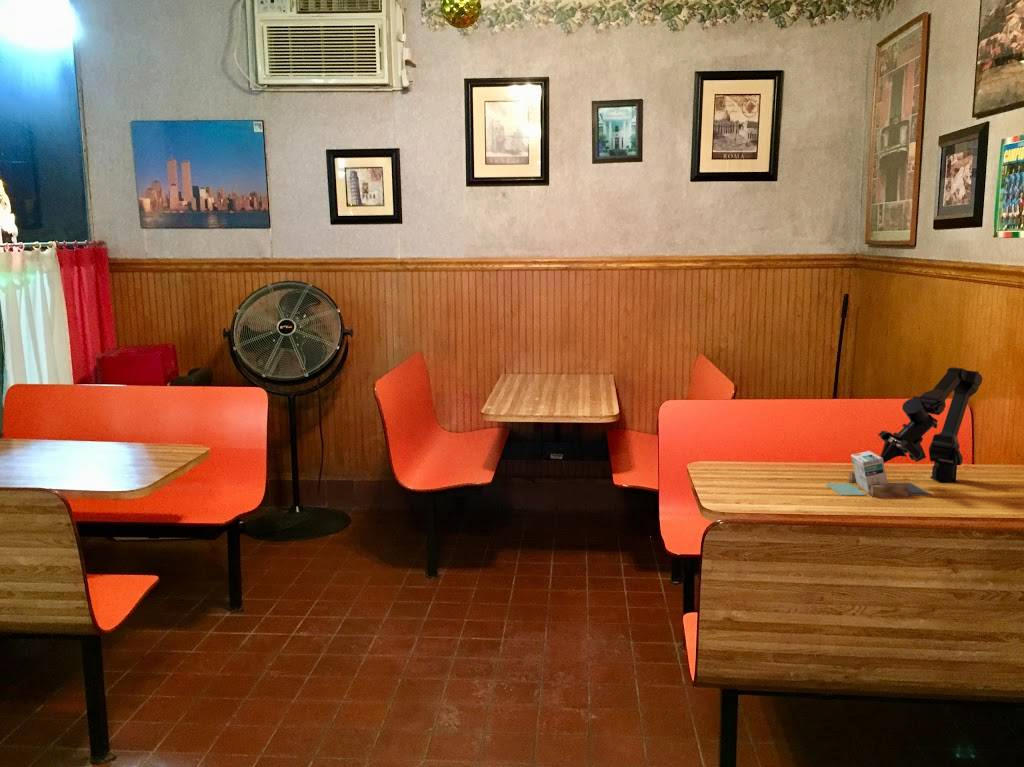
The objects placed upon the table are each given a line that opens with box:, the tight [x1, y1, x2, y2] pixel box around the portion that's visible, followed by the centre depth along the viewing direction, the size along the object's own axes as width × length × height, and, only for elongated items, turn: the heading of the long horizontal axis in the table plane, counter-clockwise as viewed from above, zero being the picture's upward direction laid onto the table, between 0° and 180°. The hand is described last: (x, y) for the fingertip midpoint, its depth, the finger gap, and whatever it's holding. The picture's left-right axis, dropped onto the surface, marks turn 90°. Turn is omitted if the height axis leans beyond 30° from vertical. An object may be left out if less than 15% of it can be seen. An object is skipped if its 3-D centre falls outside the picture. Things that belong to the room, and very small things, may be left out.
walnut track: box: [848, 471, 908, 498], centre depth 275 cm, size 11×18×4 cm, turn 2°
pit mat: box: [888, 482, 933, 496], centre depth 275 cm, size 8×14×1 cm, turn 1°
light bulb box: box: [850, 450, 889, 495], centre depth 274 cm, size 11×7×11 cm, turn 179°
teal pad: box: [825, 482, 867, 497], centre depth 275 cm, size 8×13×1 cm, turn 2°
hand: (879, 462), depth 273 cm, fingers closed
